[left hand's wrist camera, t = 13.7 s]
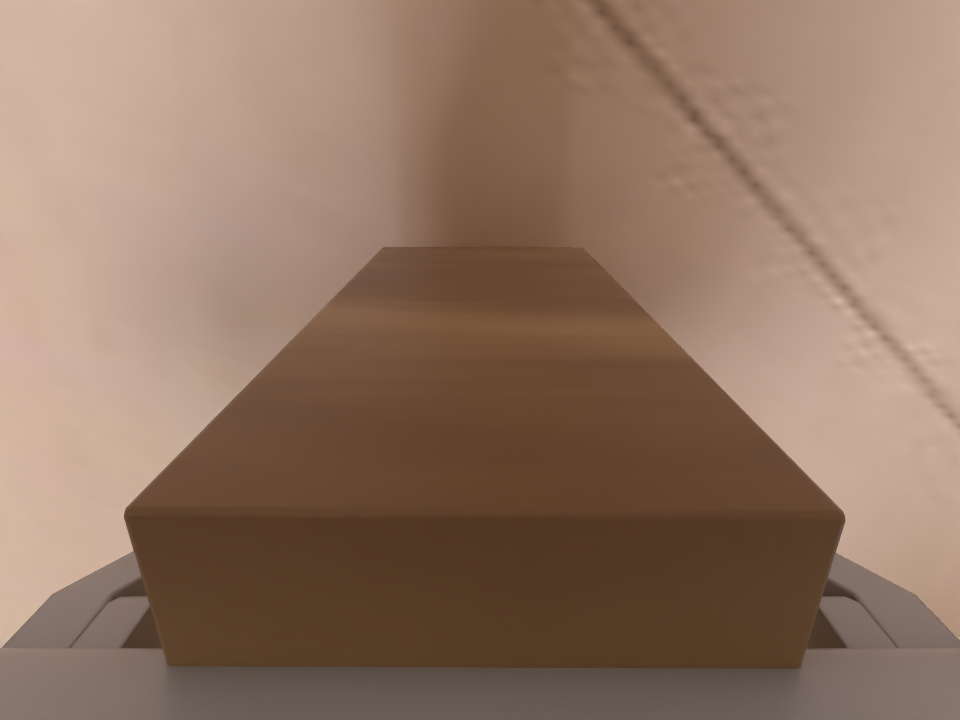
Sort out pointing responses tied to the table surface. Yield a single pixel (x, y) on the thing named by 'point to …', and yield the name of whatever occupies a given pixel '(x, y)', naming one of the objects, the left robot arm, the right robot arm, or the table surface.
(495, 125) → the table surface
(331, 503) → the box
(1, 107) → the table surface
